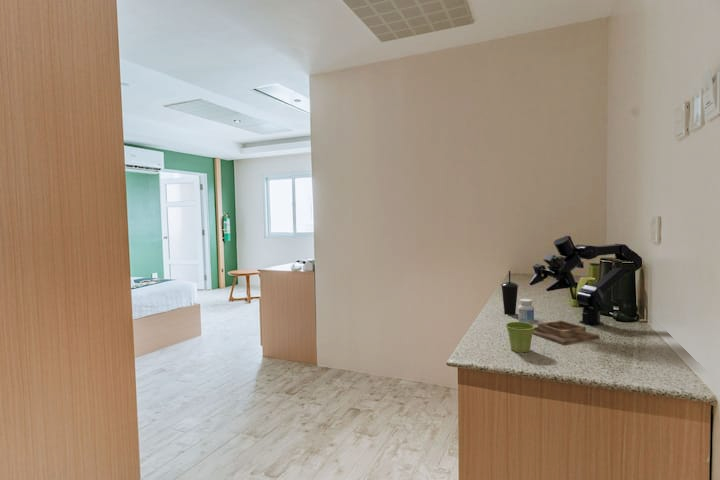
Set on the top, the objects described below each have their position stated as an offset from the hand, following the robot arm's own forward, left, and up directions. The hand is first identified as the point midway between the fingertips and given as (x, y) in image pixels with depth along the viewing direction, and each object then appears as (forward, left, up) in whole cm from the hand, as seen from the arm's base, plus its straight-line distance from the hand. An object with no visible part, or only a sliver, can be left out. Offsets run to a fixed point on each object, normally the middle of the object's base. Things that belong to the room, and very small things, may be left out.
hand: (538, 287), depth 165 cm
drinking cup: (-8, -25, -17) cm, 32 cm away
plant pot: (+23, +16, -17) cm, 33 cm away
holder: (-3, +9, -17) cm, 19 cm away
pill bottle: (+1, -5, -17) cm, 18 cm away
